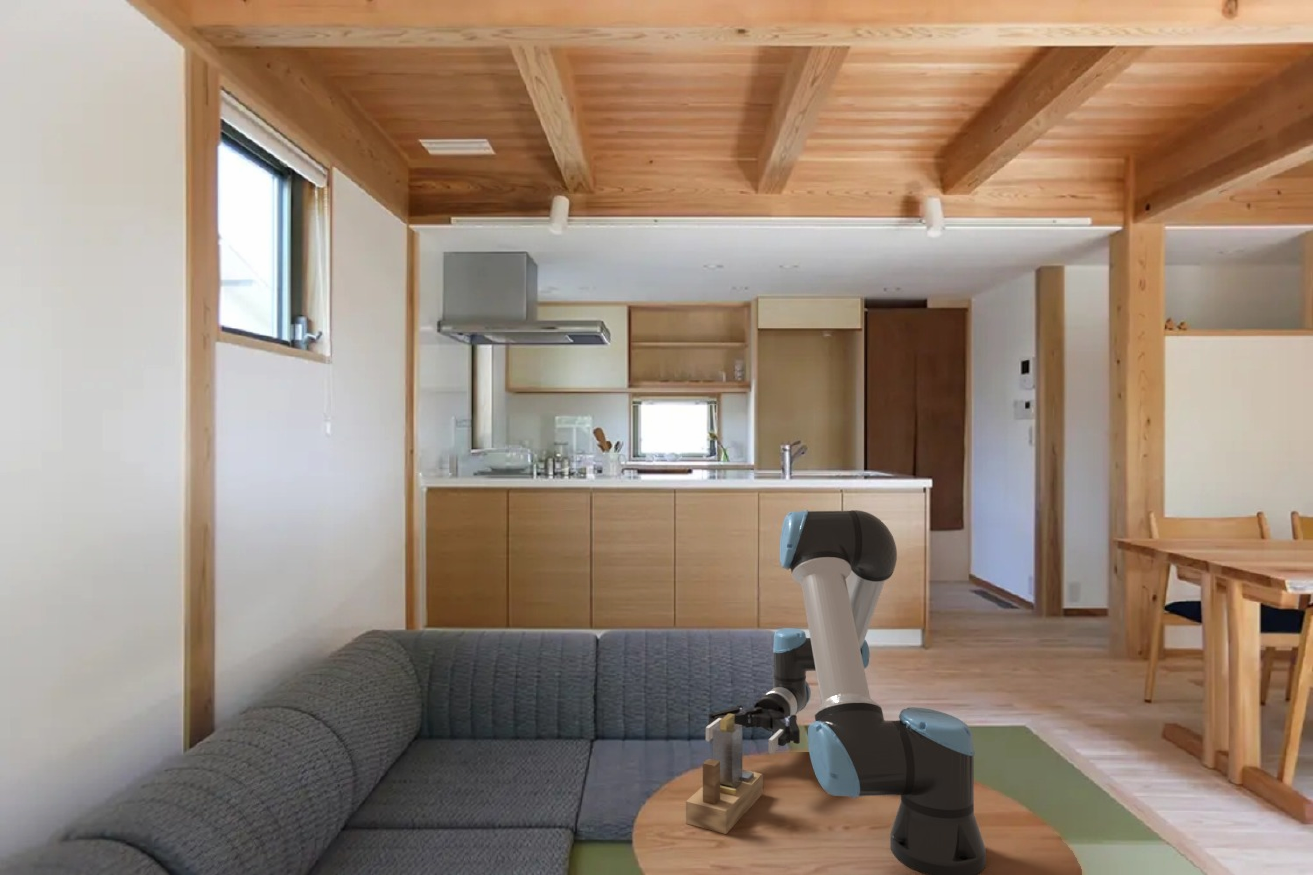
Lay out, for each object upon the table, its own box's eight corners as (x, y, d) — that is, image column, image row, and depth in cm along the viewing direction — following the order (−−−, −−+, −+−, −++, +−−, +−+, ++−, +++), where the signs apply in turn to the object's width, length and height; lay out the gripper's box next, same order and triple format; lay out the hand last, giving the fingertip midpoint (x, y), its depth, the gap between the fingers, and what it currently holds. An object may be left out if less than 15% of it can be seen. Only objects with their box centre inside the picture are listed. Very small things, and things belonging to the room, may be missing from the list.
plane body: (762, 794, 150) (762, 738, 151) (726, 833, 135) (725, 771, 135) (725, 785, 154) (725, 731, 154) (685, 823, 138) (685, 762, 139)
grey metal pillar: (742, 782, 147) (742, 714, 147) (732, 792, 142) (732, 722, 142) (723, 777, 148) (723, 711, 149) (712, 787, 144) (712, 719, 144)
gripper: (829, 736, 163) (798, 772, 145) (724, 716, 176) (682, 747, 157) (829, 701, 164) (798, 732, 145) (724, 684, 176) (682, 711, 157)
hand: (738, 740), depth 151 cm, fingers open, 13 cm apart
